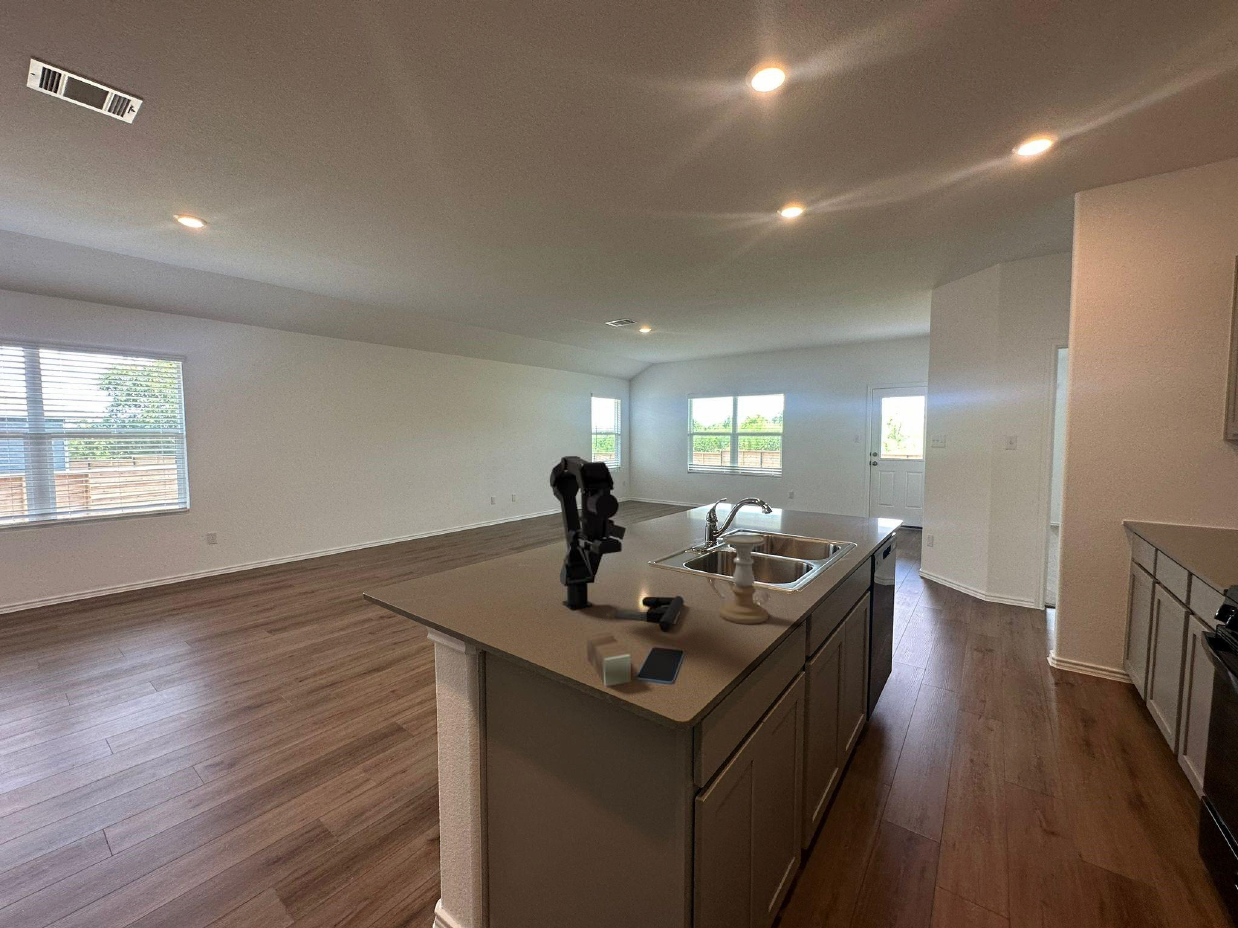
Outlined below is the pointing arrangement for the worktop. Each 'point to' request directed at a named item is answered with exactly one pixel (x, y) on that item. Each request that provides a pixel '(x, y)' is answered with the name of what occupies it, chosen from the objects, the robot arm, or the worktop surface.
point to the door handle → (657, 611)
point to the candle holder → (743, 583)
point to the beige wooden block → (608, 659)
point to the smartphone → (661, 665)
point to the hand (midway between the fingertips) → (593, 574)
